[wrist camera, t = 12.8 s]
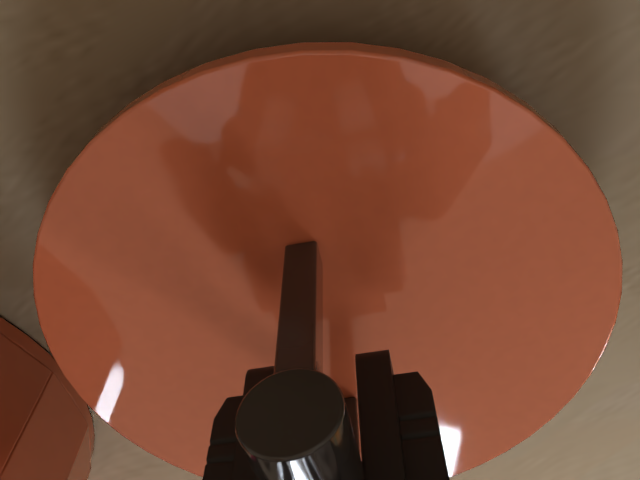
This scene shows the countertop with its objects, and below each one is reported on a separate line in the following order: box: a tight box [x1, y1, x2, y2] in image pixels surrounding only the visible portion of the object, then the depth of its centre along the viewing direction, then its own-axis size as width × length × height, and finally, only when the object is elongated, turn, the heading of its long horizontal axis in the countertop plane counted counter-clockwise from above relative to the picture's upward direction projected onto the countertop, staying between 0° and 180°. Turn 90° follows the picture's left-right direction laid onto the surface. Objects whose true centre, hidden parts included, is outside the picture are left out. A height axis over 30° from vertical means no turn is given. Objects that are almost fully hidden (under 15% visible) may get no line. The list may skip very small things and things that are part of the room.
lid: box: [33, 42, 622, 480], centre depth 12 cm, size 14×14×6 cm
